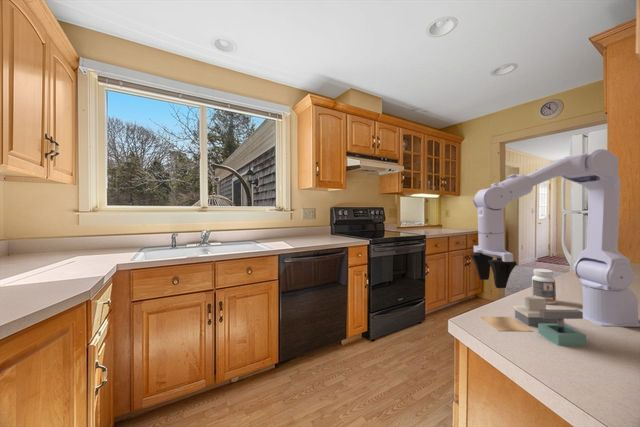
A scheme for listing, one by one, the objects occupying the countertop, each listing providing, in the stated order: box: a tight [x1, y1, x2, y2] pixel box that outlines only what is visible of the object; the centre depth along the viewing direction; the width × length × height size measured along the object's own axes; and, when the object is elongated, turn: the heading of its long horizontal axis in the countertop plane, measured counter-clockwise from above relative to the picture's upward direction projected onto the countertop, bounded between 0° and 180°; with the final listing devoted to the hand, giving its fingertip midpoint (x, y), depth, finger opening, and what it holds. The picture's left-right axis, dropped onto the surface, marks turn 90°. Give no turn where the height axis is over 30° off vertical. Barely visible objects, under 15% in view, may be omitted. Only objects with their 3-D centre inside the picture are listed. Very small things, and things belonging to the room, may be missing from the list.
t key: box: [539, 309, 584, 333], centre depth 58 cm, size 8×2×6 cm, turn 85°
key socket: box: [536, 323, 589, 347], centre depth 58 cm, size 6×6×2 cm
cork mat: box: [480, 316, 534, 332], centre depth 66 cm, size 8×8×1 cm
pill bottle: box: [531, 268, 557, 305], centre depth 81 cm, size 6×6×10 cm
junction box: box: [514, 310, 558, 327], centre depth 67 cm, size 7×5×2 cm
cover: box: [512, 296, 552, 317], centre depth 67 cm, size 7×5×4 cm
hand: (491, 283), depth 69 cm, fingers open, 7 cm apart
